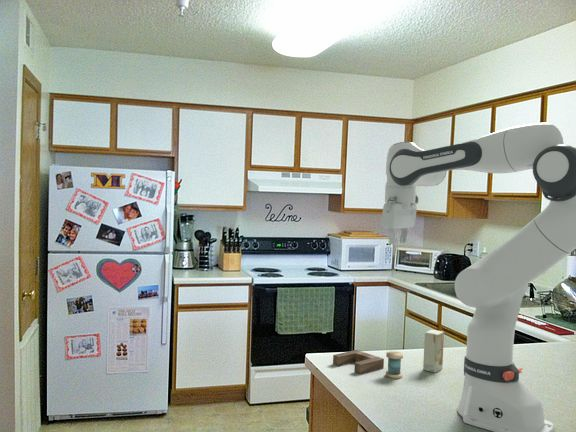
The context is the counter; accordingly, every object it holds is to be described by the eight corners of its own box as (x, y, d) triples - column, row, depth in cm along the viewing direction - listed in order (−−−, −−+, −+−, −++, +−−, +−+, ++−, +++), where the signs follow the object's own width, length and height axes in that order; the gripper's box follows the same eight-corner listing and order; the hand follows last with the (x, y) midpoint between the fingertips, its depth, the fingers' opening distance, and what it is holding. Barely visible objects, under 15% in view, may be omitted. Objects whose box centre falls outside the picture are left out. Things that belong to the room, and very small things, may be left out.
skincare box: (435, 373, 167) (437, 334, 166) (422, 370, 169) (424, 332, 169) (443, 368, 172) (444, 331, 171) (430, 365, 174) (431, 328, 174)
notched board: (383, 367, 170) (383, 358, 170) (360, 374, 163) (360, 364, 163) (356, 358, 179) (356, 349, 179) (332, 364, 172) (333, 355, 172)
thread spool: (405, 376, 162) (406, 354, 162) (395, 380, 159) (396, 357, 159) (392, 372, 166) (393, 350, 166) (382, 375, 163) (383, 352, 163)
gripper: (398, 196, 147) (396, 246, 148) (420, 198, 165) (418, 242, 165) (377, 196, 151) (375, 244, 151) (400, 197, 168) (399, 240, 169)
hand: (398, 243), depth 158 cm, fingers open, 8 cm apart
